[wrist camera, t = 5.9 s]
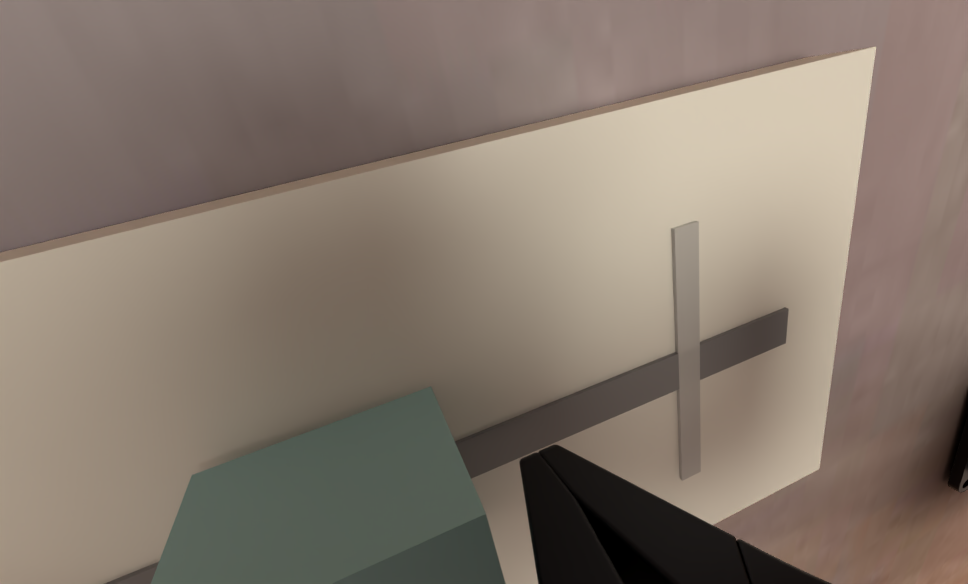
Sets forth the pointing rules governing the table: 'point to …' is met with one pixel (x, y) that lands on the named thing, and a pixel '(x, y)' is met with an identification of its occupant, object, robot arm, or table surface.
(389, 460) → the fader tab
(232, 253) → the fader panel
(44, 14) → the table surface
